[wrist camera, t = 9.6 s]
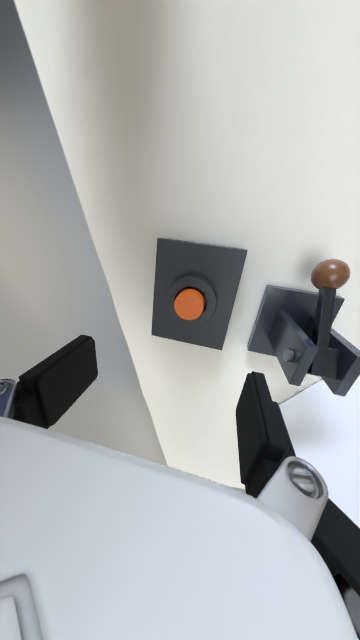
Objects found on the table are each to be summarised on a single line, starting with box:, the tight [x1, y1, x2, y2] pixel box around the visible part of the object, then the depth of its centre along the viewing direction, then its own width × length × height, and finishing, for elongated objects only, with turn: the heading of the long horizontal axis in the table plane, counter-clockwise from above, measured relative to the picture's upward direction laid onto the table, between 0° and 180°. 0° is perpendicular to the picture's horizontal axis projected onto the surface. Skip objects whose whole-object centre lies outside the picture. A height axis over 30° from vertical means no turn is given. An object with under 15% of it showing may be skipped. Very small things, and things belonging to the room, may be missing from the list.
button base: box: [152, 238, 247, 350], centre depth 26 cm, size 14×11×4 cm
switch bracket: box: [247, 285, 360, 397], centre depth 22 cm, size 10×9×11 cm
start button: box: [174, 289, 205, 320], centre depth 23 cm, size 4×4×2 cm
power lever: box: [307, 259, 350, 380], centre depth 19 cm, size 12×3×3 cm
